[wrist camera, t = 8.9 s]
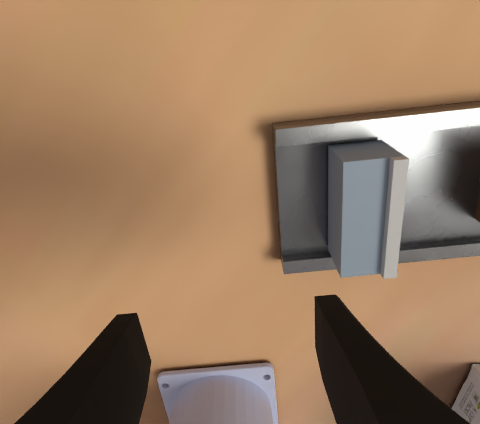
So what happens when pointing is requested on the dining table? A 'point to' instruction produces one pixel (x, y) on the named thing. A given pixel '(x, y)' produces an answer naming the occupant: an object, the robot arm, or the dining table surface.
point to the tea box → (470, 397)
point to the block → (477, 210)
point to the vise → (417, 189)
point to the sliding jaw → (366, 207)
